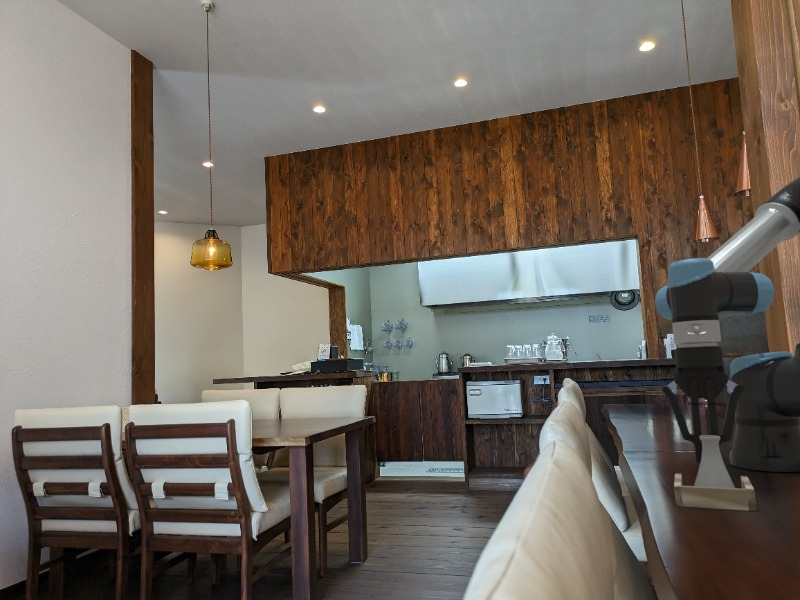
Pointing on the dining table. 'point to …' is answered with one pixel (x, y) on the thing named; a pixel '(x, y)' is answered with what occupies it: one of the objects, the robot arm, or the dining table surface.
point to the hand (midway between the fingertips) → (710, 482)
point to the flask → (712, 465)
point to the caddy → (715, 496)
